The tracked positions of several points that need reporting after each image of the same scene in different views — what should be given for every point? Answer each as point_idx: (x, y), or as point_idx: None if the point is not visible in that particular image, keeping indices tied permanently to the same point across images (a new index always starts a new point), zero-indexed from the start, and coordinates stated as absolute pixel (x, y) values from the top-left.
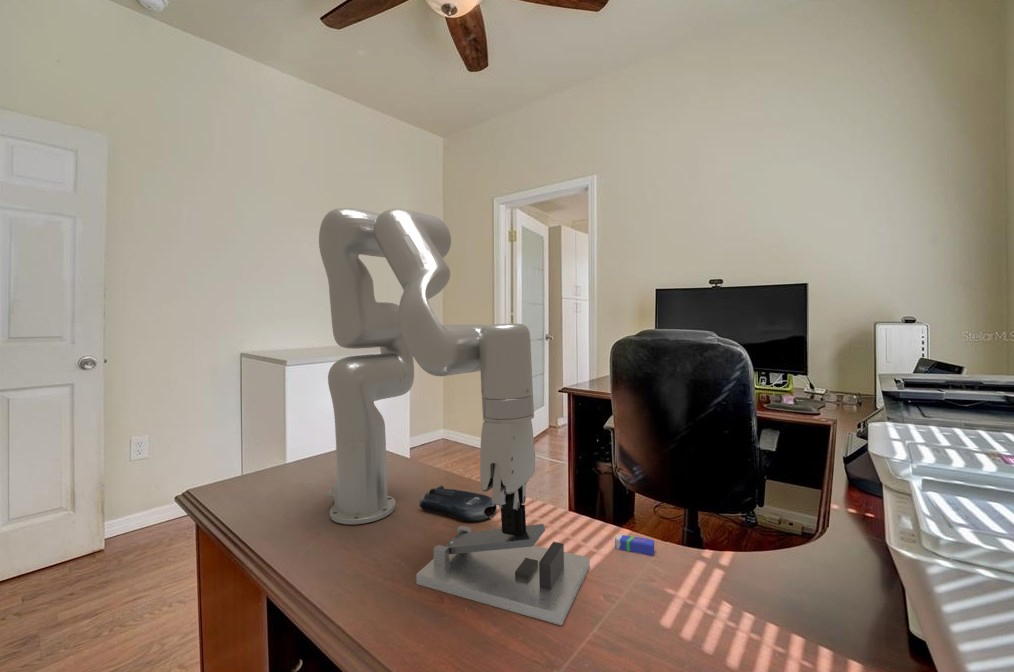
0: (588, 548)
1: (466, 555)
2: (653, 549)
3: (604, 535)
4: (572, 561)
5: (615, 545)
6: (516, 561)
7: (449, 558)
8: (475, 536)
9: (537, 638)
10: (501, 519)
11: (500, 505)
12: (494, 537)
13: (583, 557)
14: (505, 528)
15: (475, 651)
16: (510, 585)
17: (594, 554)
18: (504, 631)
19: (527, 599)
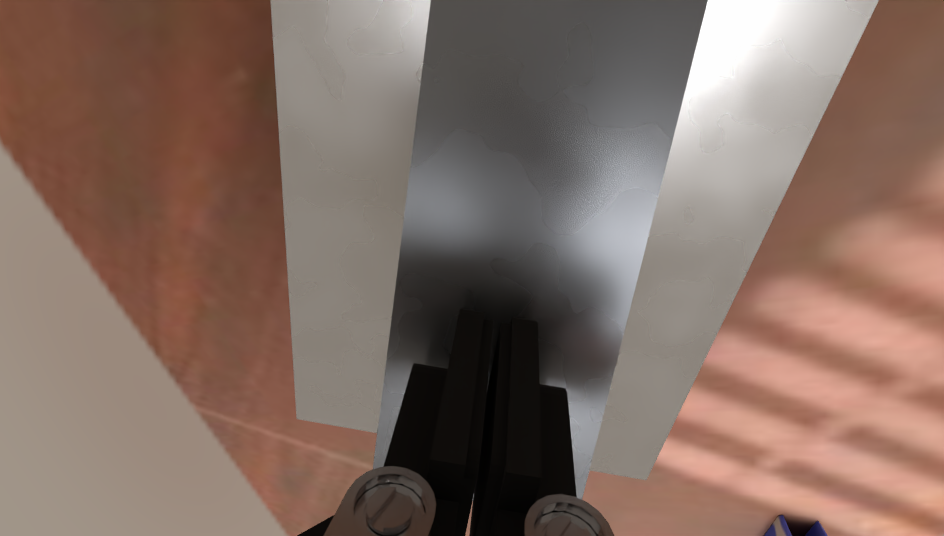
0: (783, 446)
1: None
2: None
3: (896, 492)
4: (607, 435)
5: (784, 526)
6: None
7: None
8: (601, 7)
9: (232, 341)
10: (448, 368)
11: (348, 504)
12: (498, 214)
13: (642, 465)
14: (413, 368)
15: (81, 189)
16: (375, 253)
17: (734, 461)
18: (207, 252)
19: (318, 325)
